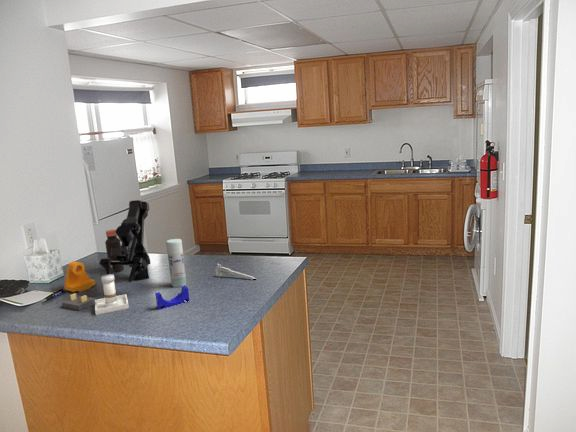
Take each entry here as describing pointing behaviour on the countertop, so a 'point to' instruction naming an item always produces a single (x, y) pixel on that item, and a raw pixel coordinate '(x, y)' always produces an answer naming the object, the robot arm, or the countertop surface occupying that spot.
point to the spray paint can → (176, 262)
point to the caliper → (230, 272)
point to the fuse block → (78, 302)
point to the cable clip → (175, 301)
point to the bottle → (113, 243)
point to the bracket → (77, 278)
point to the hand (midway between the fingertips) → (118, 282)
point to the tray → (121, 305)
